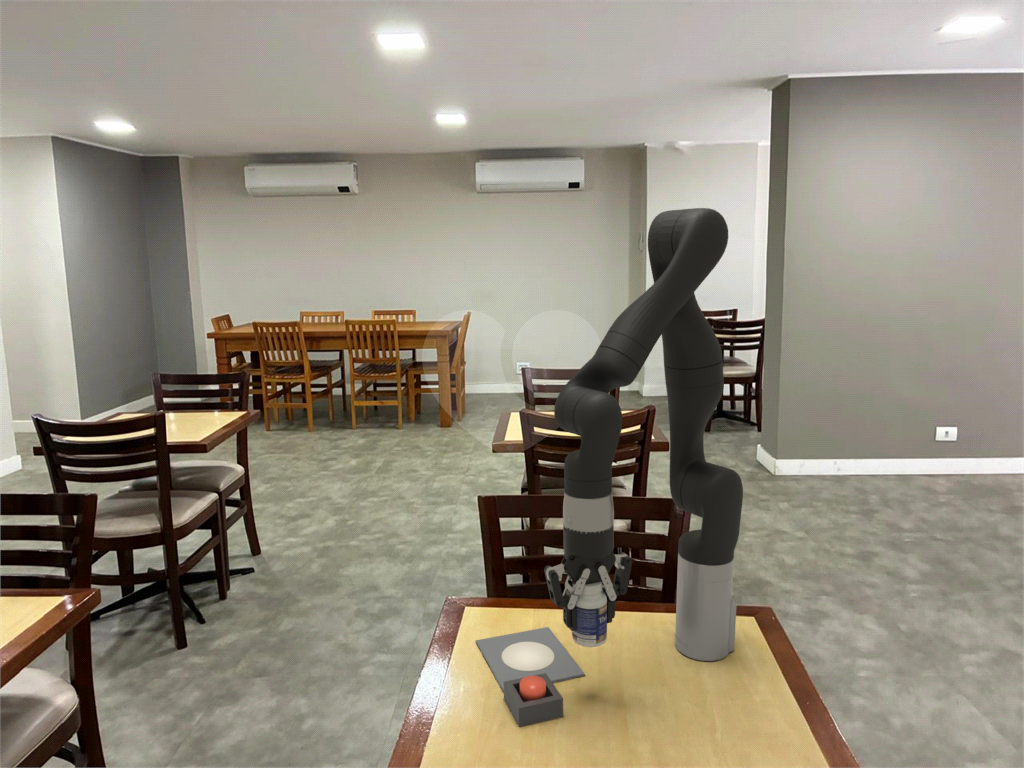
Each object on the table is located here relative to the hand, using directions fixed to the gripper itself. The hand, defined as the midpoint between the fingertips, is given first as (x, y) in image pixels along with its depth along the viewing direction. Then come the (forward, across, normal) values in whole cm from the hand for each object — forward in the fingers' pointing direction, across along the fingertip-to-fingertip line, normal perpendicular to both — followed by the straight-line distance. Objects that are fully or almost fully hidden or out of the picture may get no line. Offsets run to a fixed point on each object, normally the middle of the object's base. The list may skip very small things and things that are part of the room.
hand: (589, 623), depth 108 cm
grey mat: (+12, +6, -13) cm, 18 cm away
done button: (+10, +10, 0) cm, 14 cm away
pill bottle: (+3, 0, 0) cm, 3 cm away
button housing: (+12, +10, 0) cm, 15 cm away
